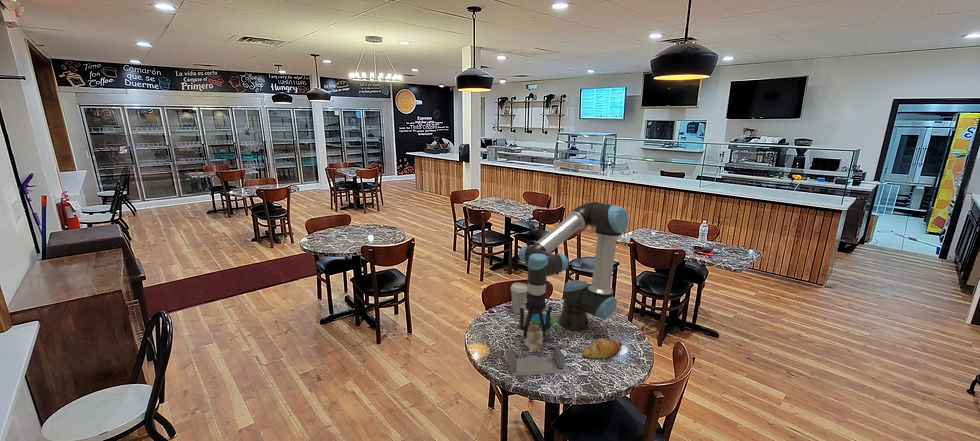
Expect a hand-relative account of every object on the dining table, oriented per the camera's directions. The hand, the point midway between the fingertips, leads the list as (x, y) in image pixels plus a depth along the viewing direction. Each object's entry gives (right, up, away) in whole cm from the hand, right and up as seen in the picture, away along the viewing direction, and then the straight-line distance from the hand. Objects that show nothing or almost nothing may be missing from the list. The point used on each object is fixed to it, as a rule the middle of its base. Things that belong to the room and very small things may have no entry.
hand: (533, 344), depth 169 cm
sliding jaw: (+11, -8, +5) cm, 15 cm away
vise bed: (+2, -11, +3) cm, 11 cm away
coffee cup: (-3, +2, +53) cm, 54 cm away
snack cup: (+6, -5, +27) cm, 28 cm away
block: (0, 0, 0) cm, 0 cm away
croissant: (+32, -9, +15) cm, 37 cm away
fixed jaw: (-9, -9, +1) cm, 13 cm away
